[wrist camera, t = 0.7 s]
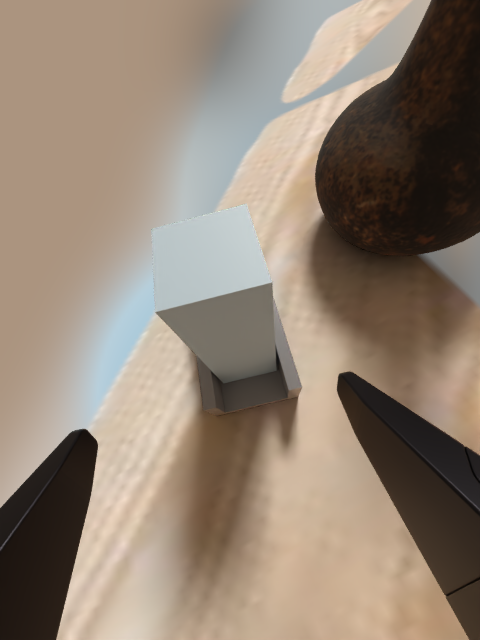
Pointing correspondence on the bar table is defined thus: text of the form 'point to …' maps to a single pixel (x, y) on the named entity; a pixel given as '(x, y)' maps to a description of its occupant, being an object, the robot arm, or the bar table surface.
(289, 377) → the chute
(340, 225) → the dark brown round-bodied bottle
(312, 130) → the bar table surface
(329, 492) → the bar table surface
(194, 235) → the block
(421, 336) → the bar table surface
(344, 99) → the bar table surface
